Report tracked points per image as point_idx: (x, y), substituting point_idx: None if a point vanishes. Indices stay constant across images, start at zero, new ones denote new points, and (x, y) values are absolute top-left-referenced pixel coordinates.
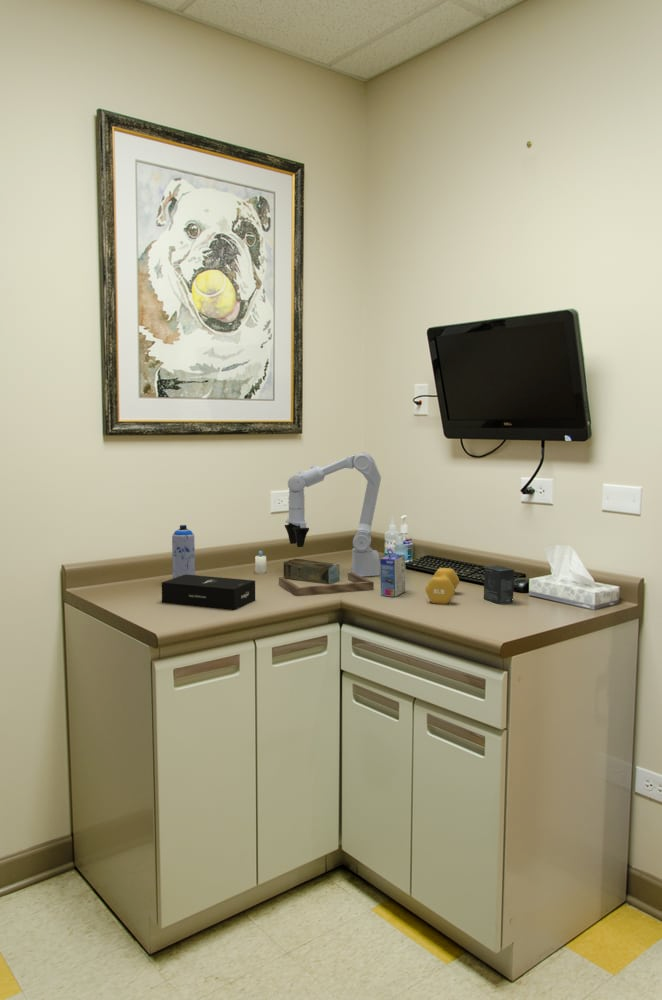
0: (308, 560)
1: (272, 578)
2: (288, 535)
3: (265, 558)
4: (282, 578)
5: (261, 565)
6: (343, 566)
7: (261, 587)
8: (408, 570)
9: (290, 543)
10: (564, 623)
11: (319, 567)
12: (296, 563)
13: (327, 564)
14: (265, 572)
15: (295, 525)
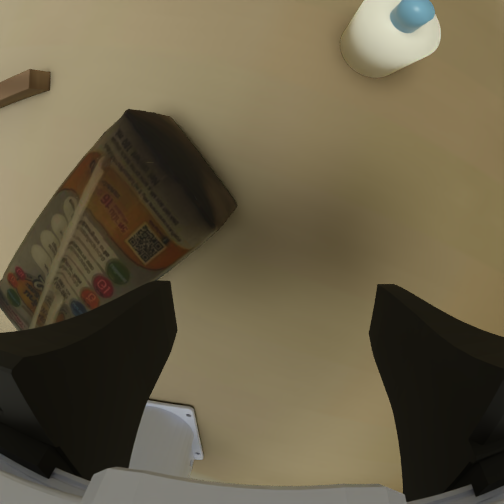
0: (118, 284)
1: (185, 58)
2: (442, 315)
3: (372, 42)
4: (13, 84)
5: (350, 26)
6: (332, 435)
7: (43, 8)
8: None
9: (386, 285)
10: None
11: (5, 271)
12: (68, 185)
13: (31, 323)
14: (349, 64)
15: (430, 493)
